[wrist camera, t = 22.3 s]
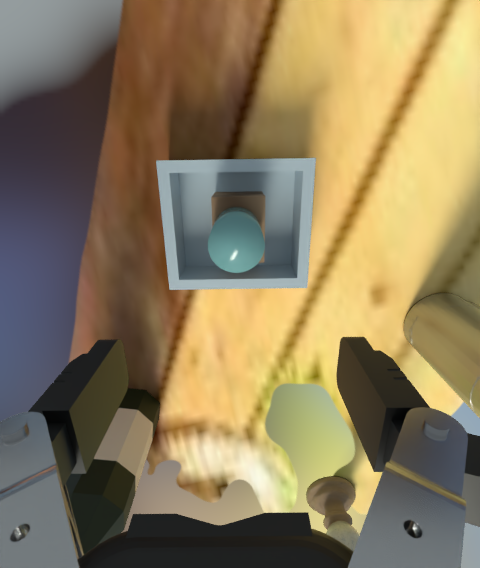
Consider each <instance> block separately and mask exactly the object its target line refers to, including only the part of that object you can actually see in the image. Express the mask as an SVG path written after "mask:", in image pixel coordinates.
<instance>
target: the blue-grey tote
mask: <svg viewBox="0 0 480 568" xmlns="http://www.w3.org/2000/svg"><path fill="white" fill-rule="evenodd" d="M315 162H316V158H284V159H224V160H164V161H156V164H157V174H158V183H159V193H160V203H161V212H162V222H163V231H164V241H165V250H166V260H167V270H168V279H169V289H170V290H185V289H256V288H307V282H308V267H309V252H310V237H311V222H312V207H313V192H314V177H315ZM243 191H262V192H263V194H264V195H265V253H264V263H258V264H257V265H256V266H255V267H253V268H252V269H250V270H248V271H245V272H241V273H232V272H228V271H225V270H223V269H221V268H220V267H218V266H217V265H216V264H215V263H214V262H213V260H212V259H211V257H210V255H209V251H208V239H209V235H210V233H211V230H212V206H211V197H212V196H213V194H214V193H215V192H243Z"/></svg>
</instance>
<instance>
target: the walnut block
mask: <svg viewBox="0 0 480 568" xmlns="http://www.w3.org/2000/svg"><path fill="white" fill-rule="evenodd" d="M211 206H212V228H213V225H214V222H215V220H216V218H217V217H218V215H219V214H220V213H221V212H223V211H224V210H226V209H228V208H231V207H242V208H246V209H248V210H249V211H251V212H252V213H253V214H254V215H255V216H256V217H257V219H258V221H259V223H260V227H261V230H262V233H263V237H264V241H265V195H264V194H263V192H262V191H243V192H215V193H214V194H213V196H212V197H211ZM264 253H265V249H264ZM259 263H264V254H263V256H262V258H261V260H260V261H259Z"/></svg>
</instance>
